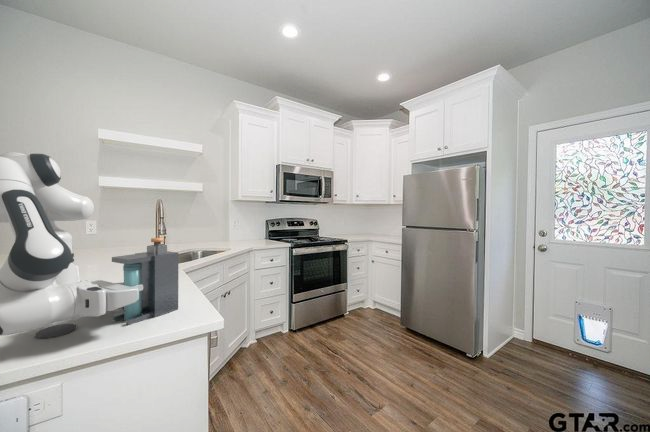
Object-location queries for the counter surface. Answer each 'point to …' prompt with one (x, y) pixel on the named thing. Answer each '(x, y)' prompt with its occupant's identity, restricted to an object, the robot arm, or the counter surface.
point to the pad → (55, 331)
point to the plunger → (157, 241)
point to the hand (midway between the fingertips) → (135, 285)
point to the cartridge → (130, 279)
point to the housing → (154, 281)
